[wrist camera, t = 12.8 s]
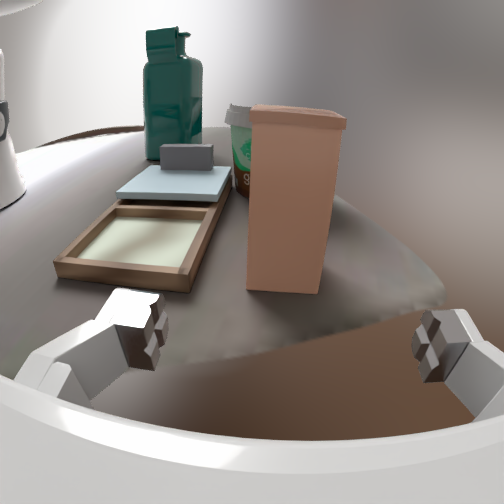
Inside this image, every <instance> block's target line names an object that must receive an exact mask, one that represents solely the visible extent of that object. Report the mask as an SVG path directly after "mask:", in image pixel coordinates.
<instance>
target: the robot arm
mask: <svg viewBox="0 0 504 504" xmlns="http://www.w3.org/2000/svg"><path fill="white" fill-rule="evenodd" d="M42 1H43V0H0V16H4V15H8V14H13V13H15V12H18V11H21V10H23V9H26V8H29V7H31V6H34V5H37V4H40V3H41V2H42ZM8 123H9V109H8V103H7V101H5V93H4V55H3V52H2V50H1V49H0V209H1V208H3V207H5V206H7V205H9V204H10V203H12V202H14V201H15V200H17V199H18V198H19V197H20V196H22V195H23V194H24V193H25V191H26V187H25V185H24V182H25V180H24V177H23V176H21V175H20V171H19V167H18V163H17V159H16V155H15V151H14V147H13V142H12V139H11V137H10V135H9V133H8V128H7V126H8ZM164 307H165V299H164V295H163V294H162V293H154V292H147V291H140V290H133V289H132V290H131V289H125V288H116V289H115V290H114V291H113V293H112V294H111V296H110V297H109V299H108V300H107V302H106V303H105V305H104V306H103V308H102V309H101V311H100V312H99V314H98V316H97V317H96V319H95V320H89V321H87V322H85V323H83V324H82V325H80V326H78V327H76V328H74V329H72V330H71V331H69V332H67V333H65V334H63V335H62V336H60V337H58V338H56V339H54V340H52V341H51V342H49V343H47V344H45V345H43V346H42V347H40V348H38V349H36V350H34V351H33V352H31V354H30V355H29V357H28V358H27V360H26V361H25V363H24V364H23V366H22V368H21V369H20V371H19V372H18V374H17V375H16V377H15V379H14V380H11V379H9V378H6V377H4V376H2V375H0V504H504V353H503V352H502V351H500V350H499V349H498V348H496V347H495V346H493V345H492V344H491V343H489V342H488V341H484V340H483V338H482V336H481V335H480V333H479V331H478V330H477V328H476V326H475V324H474V323H473V321H472V319H471V318H470V316H469V315H468V313H467V312H466V311H465V310H464V309H452V310H426V311H425V312H424V313H423V315H422V317H421V319H420V320H421V323H422V325H421V326H420V327H418V328H417V329H416V331H415V333H414V335H413V337H412V352H413V355H414V358H416V359H417V360H418V361H419V362H420V364H419V366H418V369H419V372H420V375H421V378H422V380H423V383H432V382H444V383H445V384H446V385H447V386H448V387H449V389H450V390H451V391H452V392H453V393H454V394H455V395H456V396H457V397H458V398H459V400H460V401H461V402H462V403H463V404H464V405H465V406H466V407H467V408H468V409H469V410H470V412H471V413H472V414H473V415H474V416H475V417H476V418H475V419H474V420H473V421H472V422H471V423H470V424H465V425H461V426H456V427H451V428H446V429H440V430H435V431H429V432H422V433H416V434H409V435H402V436H392V437H384V438H372V439H358V440H337V441H285V440H284V441H283V440H263V439H249V438H237V437H228V436H219V435H211V434H203V433H197V432H190V431H184V430H178V429H173V428H167V427H162V426H156V425H152V424H147V423H143V422H138V421H133V420H129V419H126V418H122V417H118V416H114V415H110V414H107V413H103V412H99V411H96V410H95V409H94V407H93V406H92V404H91V403H90V400H92V399H93V398H94V397H96V396H97V395H98V394H99V393H100V392H101V391H103V390H104V389H105V388H106V387H108V386H109V385H110V384H111V383H112V382H113V381H115V380H116V379H117V378H118V377H120V376H121V375H122V374H123V373H124V372H126V371H127V370H128V369H129V367H131V368H137V369H143V370H149V371H155V369H156V366H157V363H158V361H159V358H160V350H159V348H160V347H162V346H163V345H165V342H166V339H167V334H168V317H167V315H166V314H165V312H164V311H163V309H164Z"/></svg>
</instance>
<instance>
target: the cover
mask: <svg viewBox="0 0 504 504" xmlns="http://www.w3.org/2000/svg"><path fill="white" fill-rule="evenodd" d="M231 169H232V167H224V166H213V144H163V145H162V146H160V165H151V166H149V167H148V168H146V169H145V170H144V171H142V172H141V173H140V174H138V175H137V176H136V177H134V178H133V179H132V180H131V181H129V182H128V183H127V184H125V185H124V186H123V187H122V188H120V189H119V190H118V191H117V192H116V197H117V199H159V200H189V201H212V202H217V201H218V199H219V197H220V195H221V193H222V191H223V189H224V187H225V185H226V183H227V180H228V178H229V176H230V174H231Z"/></svg>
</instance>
